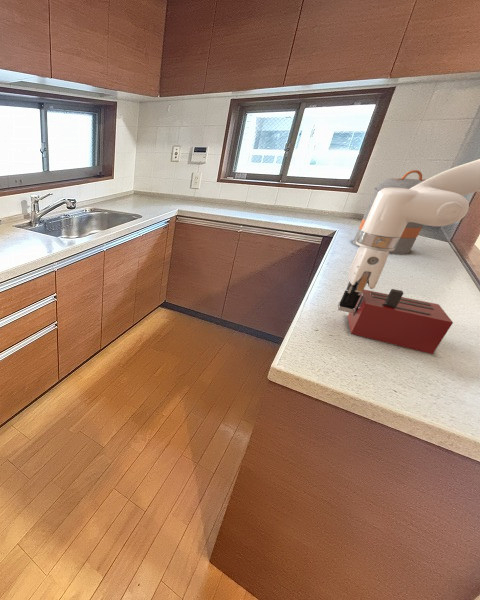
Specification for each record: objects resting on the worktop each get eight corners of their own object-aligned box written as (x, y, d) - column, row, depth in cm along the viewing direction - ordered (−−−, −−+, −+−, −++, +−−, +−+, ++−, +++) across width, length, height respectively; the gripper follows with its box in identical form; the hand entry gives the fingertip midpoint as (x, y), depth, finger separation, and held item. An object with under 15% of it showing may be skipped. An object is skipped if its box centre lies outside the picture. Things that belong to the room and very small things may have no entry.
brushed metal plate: (353, 309, 89) (355, 305, 89) (354, 313, 87) (356, 309, 86) (337, 305, 91) (339, 302, 90) (338, 310, 89) (339, 306, 88)
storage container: (368, 251, 150) (404, 171, 134) (342, 238, 170) (371, 166, 154) (423, 255, 147) (467, 173, 131) (390, 241, 166) (425, 169, 150)
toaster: (420, 333, 86) (439, 303, 82) (432, 354, 78) (453, 322, 74) (346, 316, 94) (360, 288, 90) (350, 333, 86) (365, 303, 81)
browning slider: (394, 305, 81) (402, 290, 79) (395, 307, 79) (403, 293, 78) (384, 303, 82) (391, 288, 80) (385, 305, 80) (392, 291, 79)
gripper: (403, 251, 73) (367, 321, 81) (390, 236, 84) (360, 299, 92) (361, 245, 76) (331, 312, 84) (355, 231, 87) (329, 292, 96)
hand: (346, 305), depth 88 cm, fingers closed
